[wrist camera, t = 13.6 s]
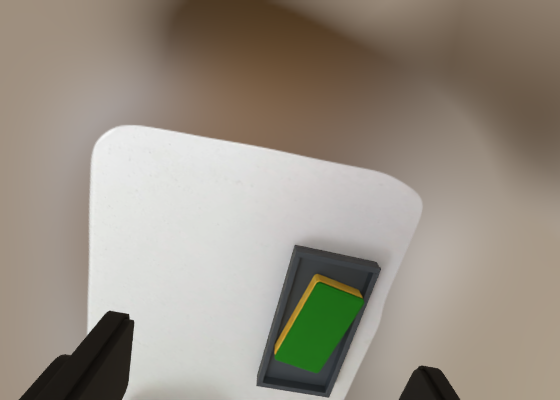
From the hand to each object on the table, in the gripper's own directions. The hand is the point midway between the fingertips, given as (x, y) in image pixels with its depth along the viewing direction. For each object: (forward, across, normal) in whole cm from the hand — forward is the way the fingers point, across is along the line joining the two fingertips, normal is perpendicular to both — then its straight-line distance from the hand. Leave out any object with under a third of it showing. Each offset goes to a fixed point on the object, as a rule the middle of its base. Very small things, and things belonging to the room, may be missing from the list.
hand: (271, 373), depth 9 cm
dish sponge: (+26, -11, +18) cm, 33 cm away
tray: (+26, -11, +20) cm, 34 cm away
